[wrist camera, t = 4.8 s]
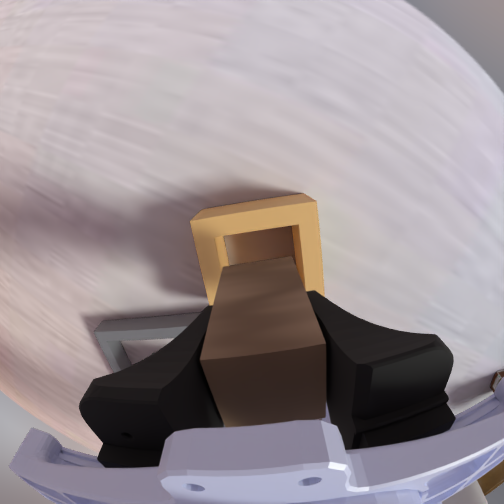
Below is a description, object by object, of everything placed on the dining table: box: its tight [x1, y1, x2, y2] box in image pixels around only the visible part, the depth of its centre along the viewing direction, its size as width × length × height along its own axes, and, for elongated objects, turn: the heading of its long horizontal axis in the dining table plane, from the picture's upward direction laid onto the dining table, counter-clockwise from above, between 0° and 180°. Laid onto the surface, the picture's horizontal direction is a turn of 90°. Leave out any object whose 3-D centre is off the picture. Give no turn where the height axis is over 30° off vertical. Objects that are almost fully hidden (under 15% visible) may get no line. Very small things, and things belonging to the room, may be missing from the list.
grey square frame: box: [94, 312, 201, 373], centre depth 24 cm, size 13×13×2 cm
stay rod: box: [200, 256, 326, 427], centre depth 11 cm, size 3×3×7 cm
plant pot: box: [477, 460, 504, 496], centre depth 28 cm, size 15×15×16 cm
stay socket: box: [190, 193, 325, 305], centre depth 19 cm, size 7×7×4 cm
